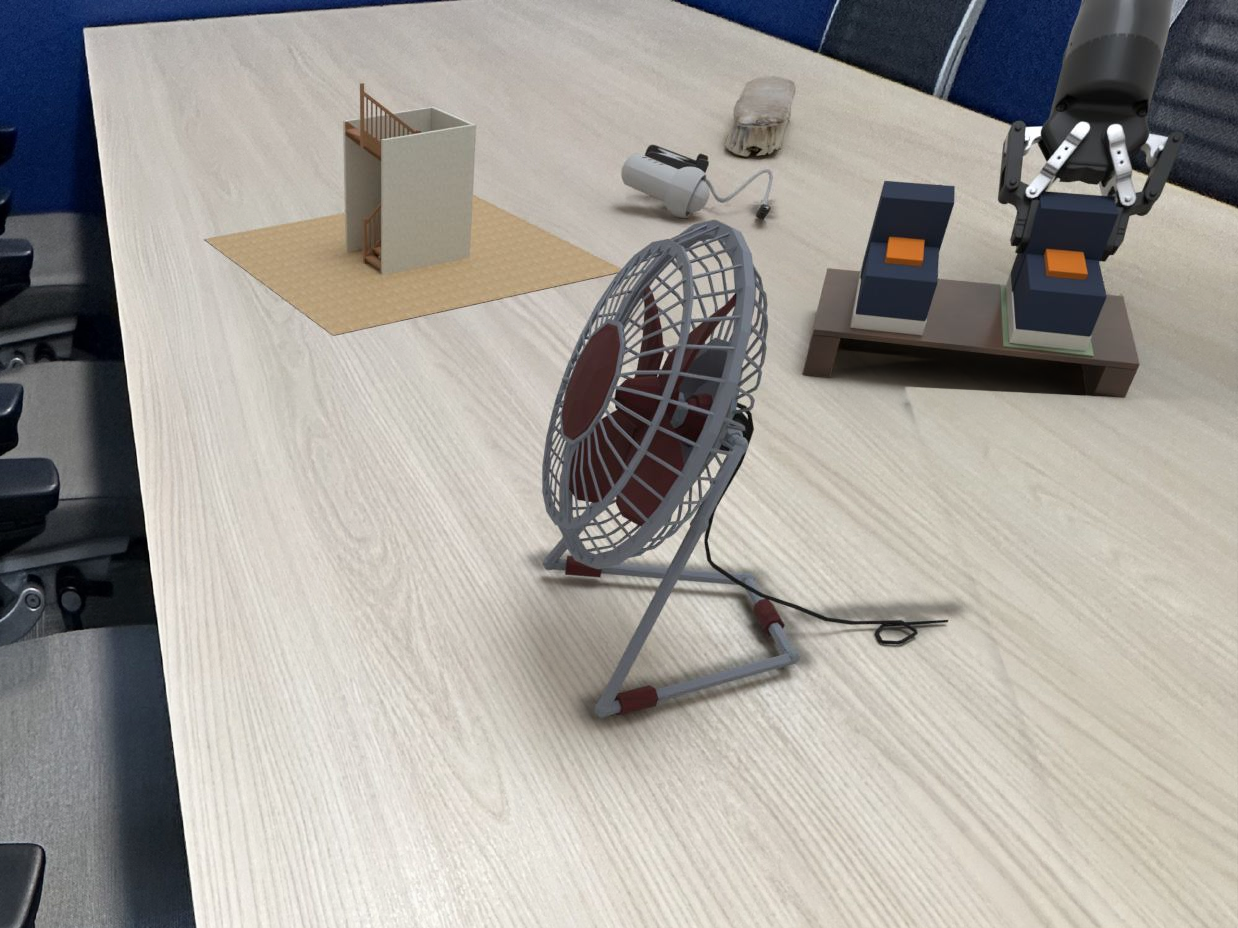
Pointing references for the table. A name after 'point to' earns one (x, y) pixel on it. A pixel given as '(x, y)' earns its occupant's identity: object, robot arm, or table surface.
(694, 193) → the clip-on lamp
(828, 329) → the shoe rack
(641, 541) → the desk fan
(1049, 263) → the trainer
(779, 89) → the shoe brush
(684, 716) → the table surface
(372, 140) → the staircase
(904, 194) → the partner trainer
